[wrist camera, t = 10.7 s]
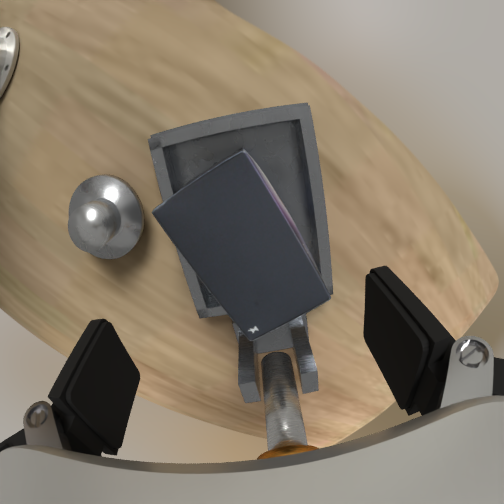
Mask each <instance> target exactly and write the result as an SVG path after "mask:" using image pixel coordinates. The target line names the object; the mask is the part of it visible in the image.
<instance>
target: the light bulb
mask: <svg viewBox="0 0 504 504" xmlns="http://www.w3.org/2000/svg"><path fill="white" fill-rule="evenodd" d="M261 366H262V379H263V392H264V404H265V417H266V430H267V442H268V451H267V452H265V453H263V454H261V455H260V456H259V457H258V458H257V460H258V459H266V458H273V457H280V456H286V455H292V454H297V453H302V452H307V451H312V450H316V449H319V448H317V447H314V446H309V445H307V439H306V434H305V428H304V423H303V418H302V412H301V407H300V402H299V397H298V391H297V386H296V381H295V376H294V371H293V366H292V361H291V358H290V356H289V355H288V354H286V353H283V352H272V353H270V354H268V355H266V356H265V357H264V358H263V359H262V362H261Z"/></svg>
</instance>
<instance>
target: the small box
mask: <svg viewBox="0 0 504 504" xmlns="http://www.w3.org/2000/svg"><path fill="white" fill-rule="evenodd" d="M152 214H153V215H154V217H155V218H156V219H157V221H158V222H159V224H160V225H161V227H162V228H163V230H164V231H165V232H166V234H167V235H168V237H169V238H170V239H171V241H172V242H173V243H174V245H175V246H176V248H177V249H178V250H179V252H180V253H181V254H182V256H183V257H184V258H185V260H186V261H187V262H188V264H189V265H190V266H191V268H192V269H193V270H194V272H195V273H196V274H197V276H198V277H199V279H200V280H201V281H202V282H203V284H204V285H205V286H206V287H207V289H208V290H209V291H210V293H211V294H212V295H213V296H214V298H215V299H216V300H217V301H218V303H219V304H220V305H221V307H222V308H223V309H224V310H225V311H226V313H227V314H228V315H229V317H230V318H231V319H232V320H233V321H234V323H235V324H236V325H237V326H238V328H239V329H240V330H241V331H242V332H243V333H244V335H245V336H246V337H247V338H248V340H250V341H254V340H256V339H258V338H260V337H262V336H264V335H265V334H267V333H269V332H271V331H273V330H275V329H277V328H279V327H281V326H283V325H285V324H287V323H289V322H291V321H292V320H295V319H296V318H298V317H300V316H302V315H304V314H306V313H307V312H309V311H311V310H313V309H315V308H317V307H318V306H320V305H322V304H323V303H325V302H327V301H329V300H330V299H331V296H330V294H329V292H328V289H327V287H326V285H325V282H324V280H323V278H322V276H321V274H320V272H319V270H318V268H317V265H316V263H315V261H314V259H313V257H312V255H311V253H310V251H309V249H308V247H307V245H306V244H305V242H304V240H303V238H302V236H301V234H300V232H299V230H298V228H297V227H296V225H295V223H294V221H293V219H292V217H291V216H290V214H289V212H288V211H287V209H286V207H285V206H284V204H283V203H282V201H281V199H280V198H279V196H278V195H277V193H276V191H275V190H274V188H273V187H272V185H271V183H270V182H269V180H268V179H267V177H266V176H265V174H264V173H263V172H262V170H261V169H260V167H259V166H258V165H257V163H256V162H255V161H254V159H253V158H252V157H251V156H250V154H249V153H248V152H247V151H246V150H245V149H244V148H241V149H239V150H238V151H236V152H234V153H233V154H231V155H229V156H227V157H226V158H224V159H223V160H221V161H219V162H218V163H216V164H215V165H213V166H212V167H210V168H209V169H207V170H206V171H204V172H202V173H201V174H199V175H198V176H196V177H195V178H193V179H192V180H190V181H189V182H188V183H187V184H186V185H185V186H184V187H183V188H182V189H180V190H179V191H178V192H177V193H175V194H174V195H172V196H171V197H169V198H168V199H167V200H165V201H164V202H163V203H161V204H160V205H158V206H157V207H156V208H155V209H154V210H153V211H152Z"/></svg>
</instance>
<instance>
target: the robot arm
mask: <svg viewBox="0 0 504 504" xmlns="http://www.w3.org/2000/svg"><path fill="white" fill-rule="evenodd" d="M18 51H19V38H18V34H17V32H16V31H15V30H14V29H12V28H9V27H2V28H0V98H1V96H2V94H3V93H4V91H5V89H6V87H7V85H8V83H9V81H10V79H11V76H12V74H13V71H14V68H15V65H16V61H17V57H18ZM364 339H365V342H366V344H367V346H368V348H369V349H370V351H371V353H372V355H373V357H374V359H375V361H376V362H377V364H378V366H379V368H380V370H381V372H382V374H383V376H384V378H385V380H386V381H387V383H388V385H389V387H390V389H391V391H392V393H393V395H394V397H395V399H396V401H397V403H398V405H399V407H400V408H401V409H405V410H406V411H407V413H408V415H412V414H414V413H416V412H418V411H420V413H421V415H422V416H420V417H418V418H415V419H412V420H410V421H408V422H405V423H402V424H400V425H397V426H394V427H392V428H389V429H386V430H383V431H380V432H377V433H374V434H371V435H368V436H365V437H361V438H358V439H355V440H351V441H348V442H344V443H341V444H337V445H333V446H329V447H325V448H321V449H316V450H312V451H307V452H302V453H297V454H292V455H286V456H280V457H273V458H266V459H258V460H249V461H241V462H240V461H239V462H226V463H207V464H206V463H203V464H175V463H153V462H140V461H130V460H121V459H114V458H106V457H102V456H101V453H102V452H104V453H105V454H110V455H117V452H118V448H120V447H121V446H122V443H123V439H124V435H125V431H126V427H127V423H128V419H129V416H130V412H131V409H132V405H133V401H134V398H135V395H136V391H137V388H138V384H139V381H140V373H139V371H138V369H137V367H136V366H135V364H134V362H133V361H132V359H131V357H130V356H129V354H128V352H127V351H126V349H125V347H124V345H123V344H122V342H121V340H120V338H119V337H118V335H117V333H116V331H115V329H114V327H113V325H112V324H111V323H110V322H108V321H107V320H106V319H97V320H92V321H90V323H89V324H88V326H87V328H86V329H85V331H84V332H83V334H82V336H81V337H80V339H79V341H78V342H77V344H76V346H75V347H74V349H73V351H72V353H71V354H70V356H69V358H68V360H67V361H66V363H65V365H64V367H63V368H62V370H61V372H60V374H59V376H58V378H57V380H56V381H55V383H54V385H53V387H52V389H51V391H50V393H49V395H48V398H49V399H50V400H51V401H52V402H53V404H52V406H50V404H49V403H47V402H45V401H39V402H36V403H34V404H33V405H32V406H30V408H29V409H28V410H27V411H26V413H25V416H24V420H23V424H24V429H22V430H21V431H19V432H17V433H16V434H14V435H12V436H11V437H9V438H8V439H6V440H4V441H3V442H2V443H0V504H504V359H500V358H495V357H494V355H493V350H492V349H491V347H490V345H489V344H488V343H487V342H486V341H484V340H483V339H481V338H479V337H475V336H465V337H461V338H460V339H458V340H456V341H455V339H454V338H453V337H452V336H451V335H450V333H449V332H448V331H447V330H446V329H445V328H444V326H443V325H442V324H441V323H440V322H439V321H438V320H437V318H436V317H435V316H434V315H433V314H432V313H431V312H430V311H429V309H428V308H427V307H426V306H425V305H424V304H423V303H422V302H421V301H420V300H419V299H418V298H417V297H416V296H415V295H414V293H413V292H412V291H411V290H410V289H409V288H408V287H407V286H406V285H405V284H404V283H403V282H402V281H401V280H400V279H399V278H398V277H397V276H396V275H395V274H394V273H393V272H392V271H391V270H390V269H389V268H388V267H387V266H382V267H378V268H374V269H371V270H370V274H367V275H366V280H365V314H364Z"/></svg>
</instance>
